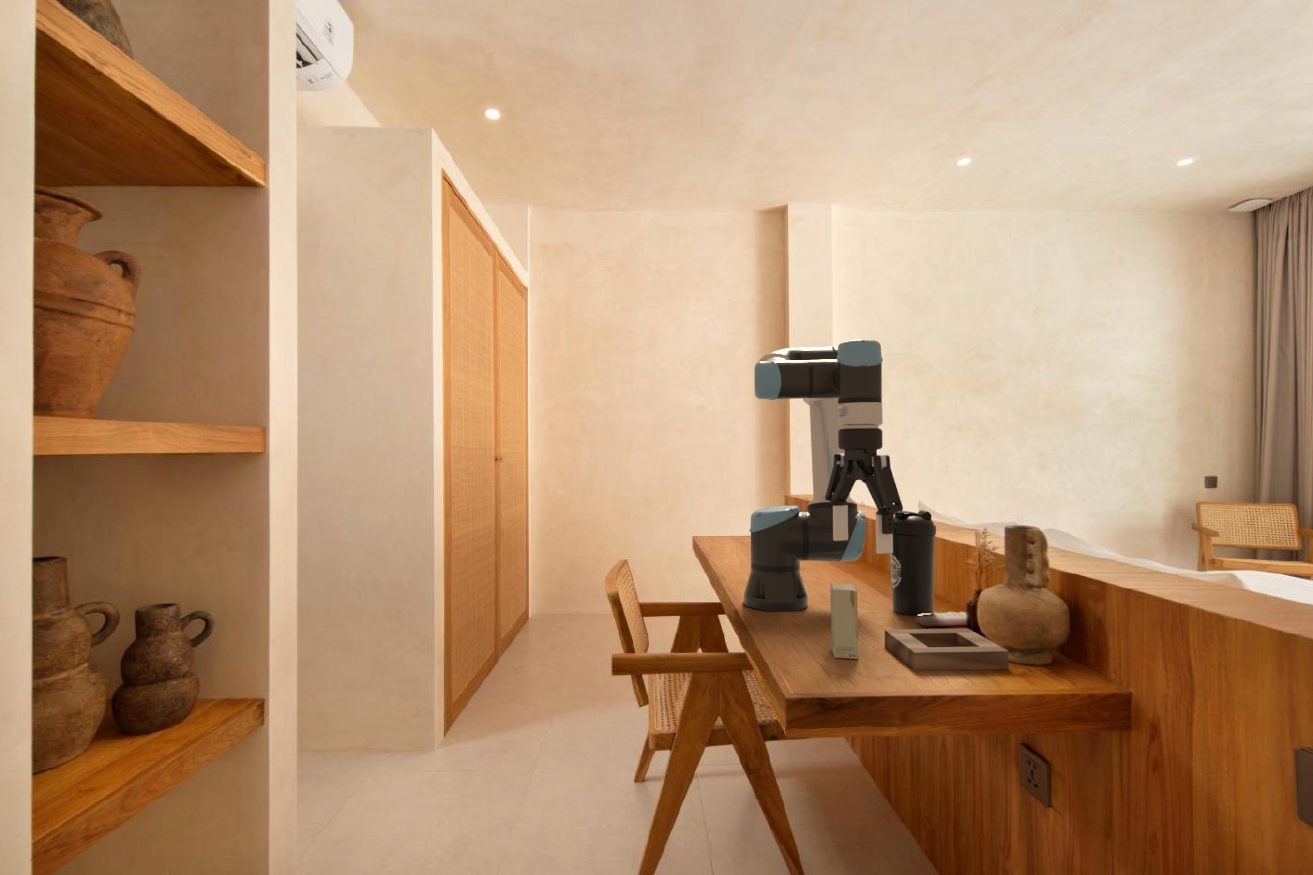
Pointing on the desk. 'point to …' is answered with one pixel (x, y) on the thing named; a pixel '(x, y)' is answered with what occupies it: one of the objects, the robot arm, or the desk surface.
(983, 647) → the socket stand
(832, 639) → the skincare box
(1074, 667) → the desk surface
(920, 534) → the water bottle
